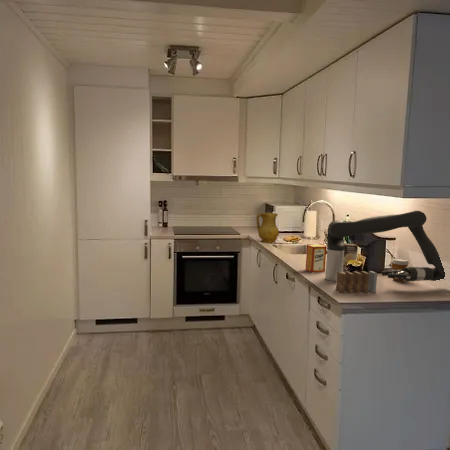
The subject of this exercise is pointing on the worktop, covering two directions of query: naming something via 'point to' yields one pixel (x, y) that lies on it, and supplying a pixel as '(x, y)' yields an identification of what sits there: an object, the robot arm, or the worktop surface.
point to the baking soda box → (315, 258)
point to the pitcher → (267, 227)
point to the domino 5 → (372, 281)
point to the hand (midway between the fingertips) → (385, 274)
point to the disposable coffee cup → (399, 265)
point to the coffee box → (349, 253)
